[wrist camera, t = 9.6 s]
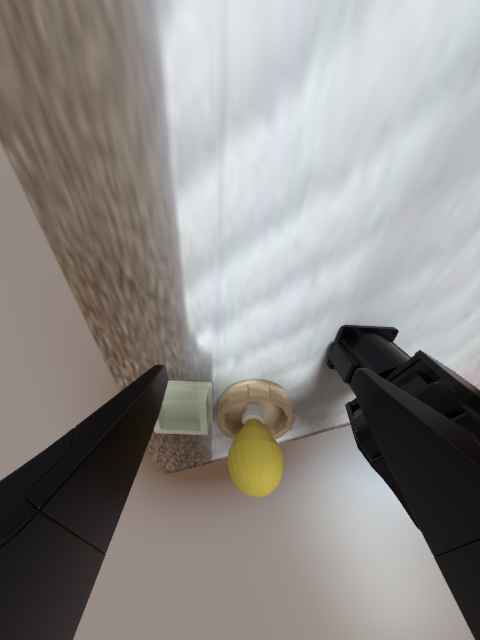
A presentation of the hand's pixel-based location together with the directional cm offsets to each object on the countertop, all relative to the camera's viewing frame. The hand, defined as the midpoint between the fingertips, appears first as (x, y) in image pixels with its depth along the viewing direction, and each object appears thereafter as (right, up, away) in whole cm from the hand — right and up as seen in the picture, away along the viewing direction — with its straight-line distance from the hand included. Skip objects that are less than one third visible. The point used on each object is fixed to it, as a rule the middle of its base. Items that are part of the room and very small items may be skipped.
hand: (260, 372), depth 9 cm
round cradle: (+1, -11, +20) cm, 23 cm away
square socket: (-10, -10, +20) cm, 24 cm away
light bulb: (+1, -11, +20) cm, 22 cm away
